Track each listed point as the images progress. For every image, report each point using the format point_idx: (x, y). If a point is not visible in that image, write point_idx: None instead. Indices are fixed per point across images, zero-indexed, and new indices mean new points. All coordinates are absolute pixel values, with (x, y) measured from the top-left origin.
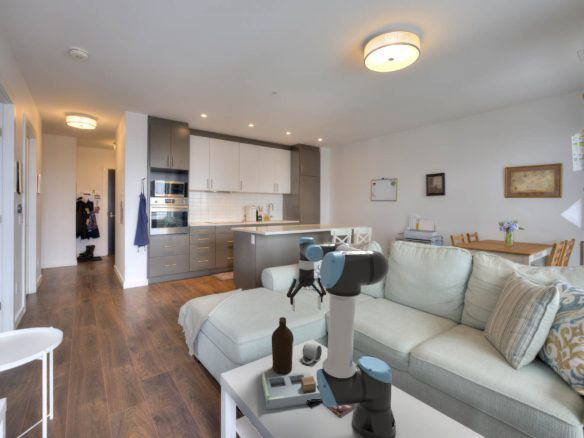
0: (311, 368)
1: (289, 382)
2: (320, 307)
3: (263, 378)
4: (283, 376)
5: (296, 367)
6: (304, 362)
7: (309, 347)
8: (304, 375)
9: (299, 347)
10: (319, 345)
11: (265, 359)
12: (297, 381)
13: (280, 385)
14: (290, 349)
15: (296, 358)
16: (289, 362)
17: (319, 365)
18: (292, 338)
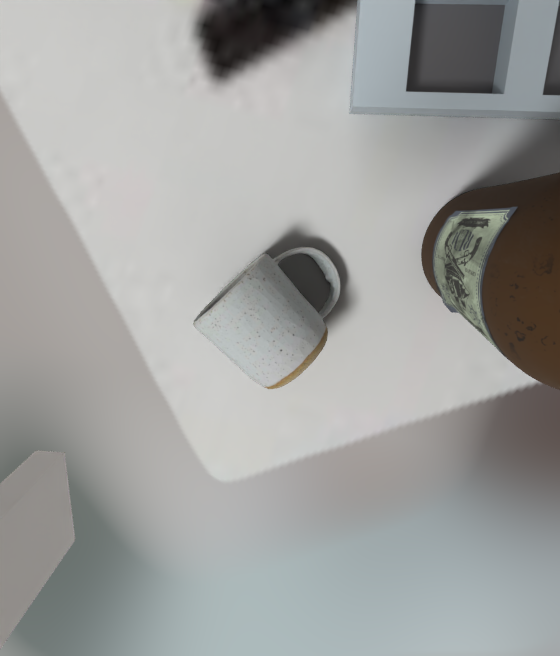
0: (306, 208)
1: (527, 20)
2: (15, 475)
3: None
4: (540, 103)
5: (392, 242)
6: (333, 266)
7: (284, 319)
8: (400, 79)
9: (303, 443)
10: (207, 312)
11: None
12: (440, 87)
13: (557, 72)
14: (516, 189)
15: (360, 335)
16: (479, 193)
17: (247, 227)
18: (532, 212)
